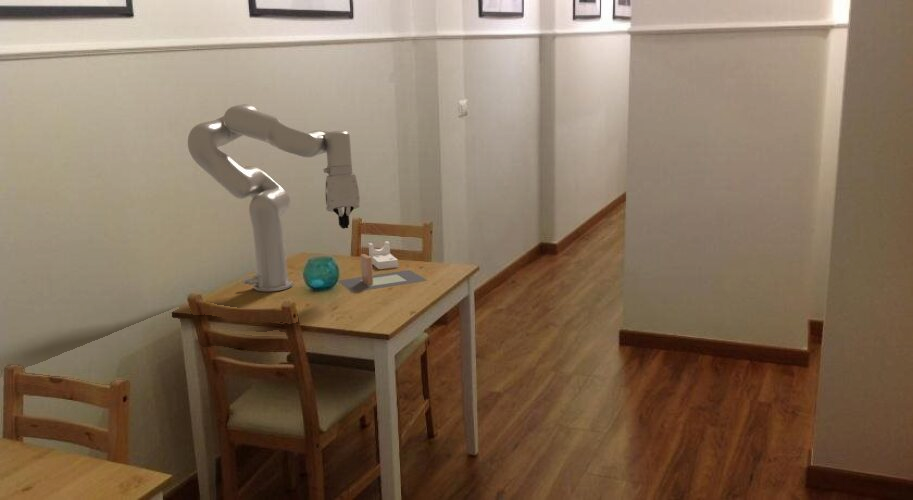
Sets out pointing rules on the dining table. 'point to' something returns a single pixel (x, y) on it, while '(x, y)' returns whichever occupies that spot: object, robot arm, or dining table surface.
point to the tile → (367, 269)
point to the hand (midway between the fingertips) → (344, 227)
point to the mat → (382, 280)
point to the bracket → (382, 257)
